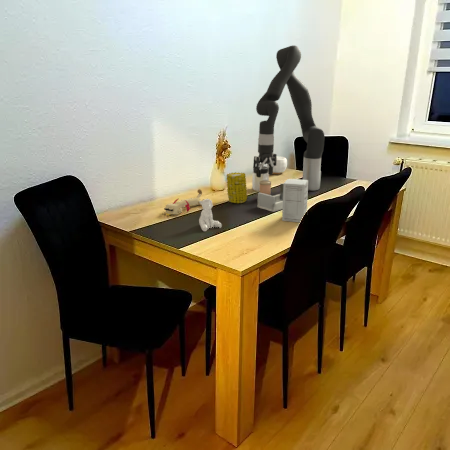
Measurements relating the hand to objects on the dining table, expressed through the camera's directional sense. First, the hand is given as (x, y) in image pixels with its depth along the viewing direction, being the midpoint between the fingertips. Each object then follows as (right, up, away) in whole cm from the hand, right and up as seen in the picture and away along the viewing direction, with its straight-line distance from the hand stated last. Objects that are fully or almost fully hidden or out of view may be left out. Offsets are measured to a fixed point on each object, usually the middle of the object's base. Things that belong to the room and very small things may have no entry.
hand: (264, 175), depth 225 cm
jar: (0, -5, +22) cm, 23 cm away
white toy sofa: (+5, -15, -8) cm, 18 cm away
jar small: (0, -11, +4) cm, 12 cm away
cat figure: (-38, -18, -14) cm, 44 cm away
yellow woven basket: (-14, -13, 0) cm, 19 cm away
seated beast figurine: (-27, -25, -36) cm, 52 cm away
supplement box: (+11, -22, -26) cm, 36 cm away
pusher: (+10, -13, -4) cm, 17 cm away
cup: (+13, +8, +60) cm, 62 cm away
